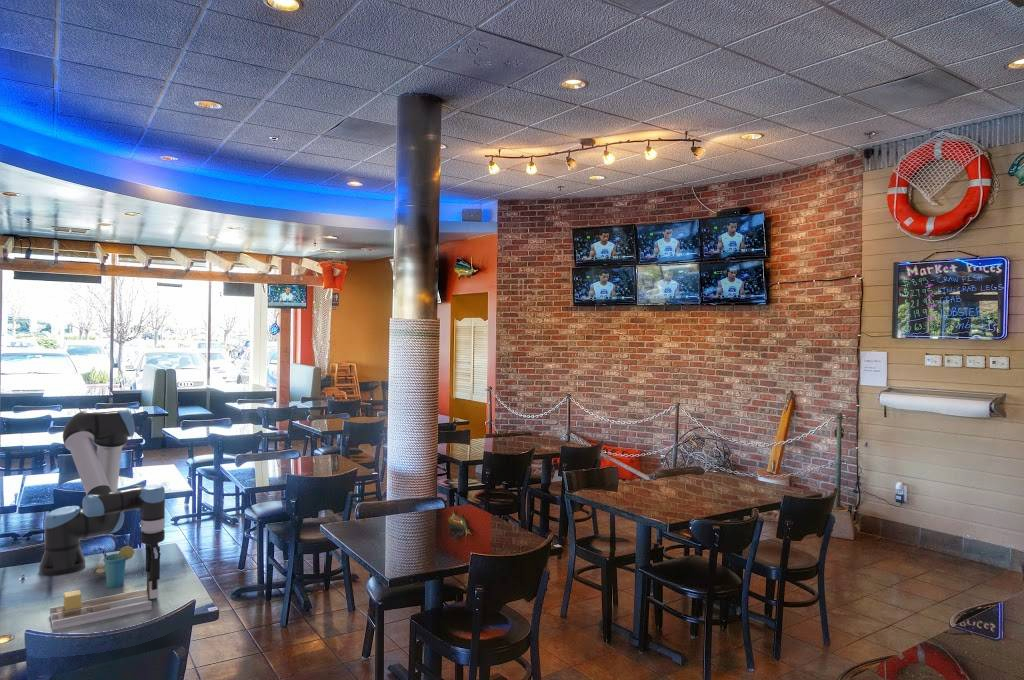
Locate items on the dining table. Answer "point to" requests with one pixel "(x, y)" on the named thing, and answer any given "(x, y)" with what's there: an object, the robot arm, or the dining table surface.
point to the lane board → (115, 610)
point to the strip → (111, 598)
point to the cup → (116, 566)
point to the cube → (72, 600)
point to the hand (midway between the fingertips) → (152, 595)
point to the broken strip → (82, 612)
